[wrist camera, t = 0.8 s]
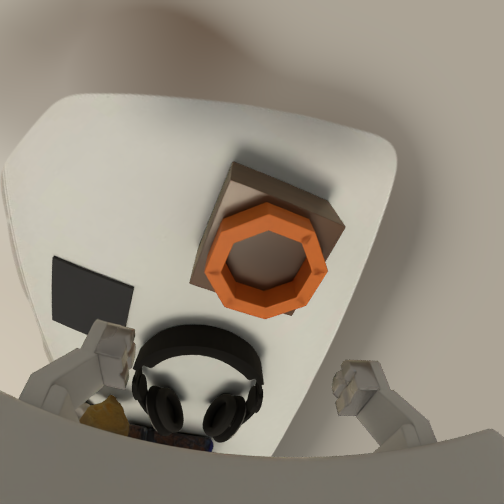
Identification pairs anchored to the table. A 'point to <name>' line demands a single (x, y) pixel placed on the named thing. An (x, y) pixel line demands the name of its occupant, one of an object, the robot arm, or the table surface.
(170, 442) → the decorative box
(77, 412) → the tiered spinning top
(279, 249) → the block
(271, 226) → the ring
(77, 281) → the mat
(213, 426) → the headphones
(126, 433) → the decorative stone
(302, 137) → the table surface
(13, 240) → the table surface
